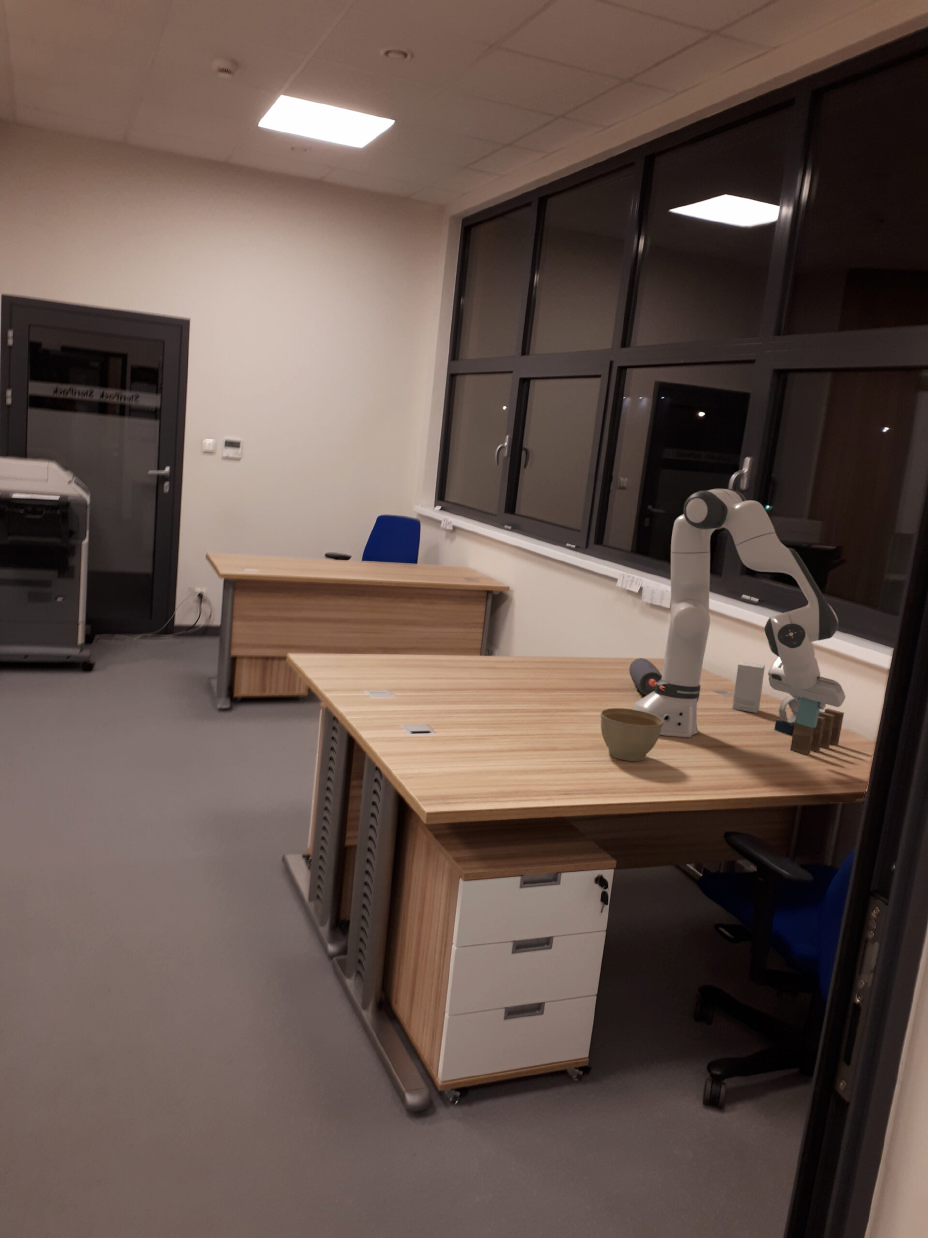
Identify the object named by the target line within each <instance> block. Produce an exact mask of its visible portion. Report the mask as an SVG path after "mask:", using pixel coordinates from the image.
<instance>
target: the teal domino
mask: <svg viewBox="0 0 928 1238" xmlns="http://www.w3.org/2000/svg"><path fill="white" fill-rule="evenodd" d="M818 703H819V702H817V701H814V700H810V699H807V698H803V697H801V699H800V704H799V709H798V715H797V720H796V723H798V724H802V725H805V726H808V727H812V728H815V727H816V725H817V720H818V715H819V711H821V709H819V708H818V706H817V705H818Z"/></svg>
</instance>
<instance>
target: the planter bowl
mask: <svg viewBox="0 0 928 1238" xmlns="http://www.w3.org/2000/svg"><path fill="white" fill-rule="evenodd" d="M600 718H601V719H600V728H601V729H600V730H601V735H602V739H603V741H604V743H605V745H606V747H607V748H608V754H609V755H610V756H611V757H612V758H615V759H618V760H622V761H626V762H627V761H628V762H640V761H643V760H645V759H646V757H647V755H648V753H650V751H651V750H652V749H653V748H654V747H655V745H656V743H657V742H658V741H659V740H658V739H659V738H660V736H661V735H660V732H661V727H662V725H663V720H662V719H661V718H660V717H658V716H656V715H654V714H651V713H648V712H644V711H639V710H633V709H632V708H624V707H623V708H621V707H614V708H612V707H611V708H606V709H602V710H601V712H600Z"/></svg>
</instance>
